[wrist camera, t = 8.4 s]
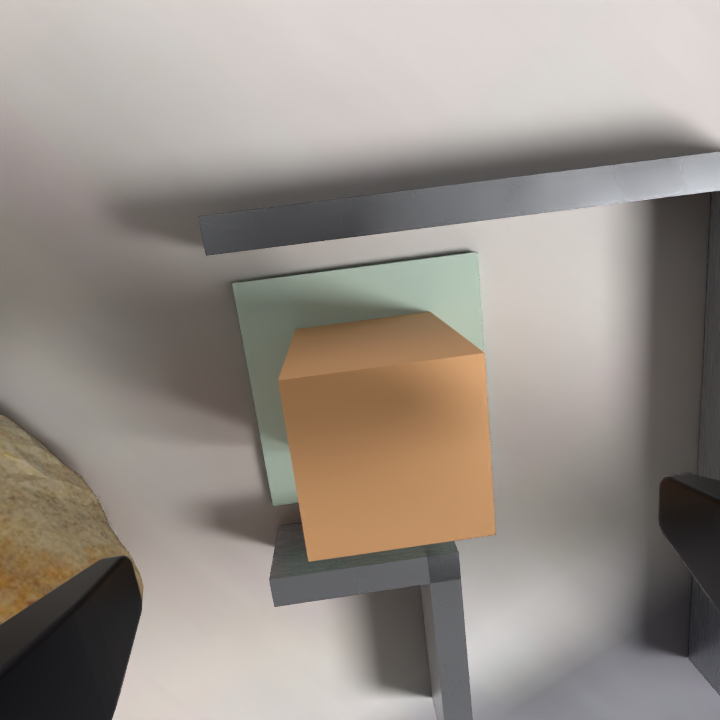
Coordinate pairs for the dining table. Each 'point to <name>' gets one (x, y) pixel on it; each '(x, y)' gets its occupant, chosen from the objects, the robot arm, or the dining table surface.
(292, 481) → the pad
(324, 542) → the orange block
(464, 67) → the dining table surface
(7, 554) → the rough brown rock
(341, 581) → the steel rail course
